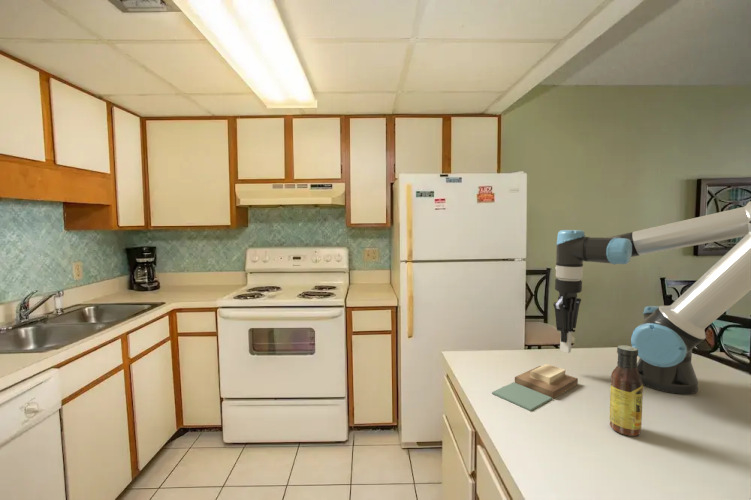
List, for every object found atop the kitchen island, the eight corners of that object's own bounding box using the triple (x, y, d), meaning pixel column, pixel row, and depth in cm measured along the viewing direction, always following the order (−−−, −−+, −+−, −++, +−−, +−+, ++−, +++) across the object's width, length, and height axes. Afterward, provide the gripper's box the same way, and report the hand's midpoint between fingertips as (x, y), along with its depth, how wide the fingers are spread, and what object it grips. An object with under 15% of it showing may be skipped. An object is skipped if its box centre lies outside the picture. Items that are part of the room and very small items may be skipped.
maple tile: (565, 376, 111) (565, 370, 111) (549, 384, 106) (549, 377, 105) (546, 369, 116) (546, 363, 116) (530, 377, 111) (530, 371, 110)
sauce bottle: (642, 440, 82) (646, 355, 80) (609, 432, 85) (612, 350, 83) (639, 426, 87) (643, 346, 86) (608, 419, 91) (611, 341, 89)
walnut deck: (577, 384, 109) (577, 378, 109) (552, 398, 101) (553, 391, 101) (539, 371, 119) (540, 365, 119) (514, 383, 111) (514, 377, 111)
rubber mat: (551, 399, 101) (552, 397, 101) (530, 411, 95) (530, 409, 95) (513, 383, 111) (513, 382, 111) (492, 393, 105) (492, 392, 105)
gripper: (567, 275, 121) (564, 343, 124) (545, 279, 114) (543, 352, 116) (590, 278, 115) (587, 350, 118) (570, 282, 108) (566, 359, 110)
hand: (565, 351), depth 117 cm, fingers closed
